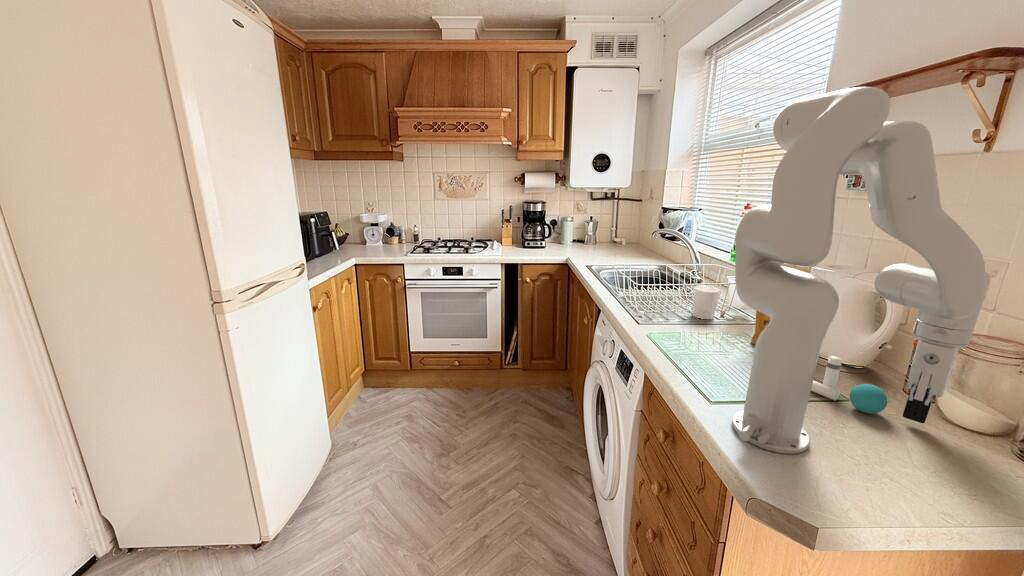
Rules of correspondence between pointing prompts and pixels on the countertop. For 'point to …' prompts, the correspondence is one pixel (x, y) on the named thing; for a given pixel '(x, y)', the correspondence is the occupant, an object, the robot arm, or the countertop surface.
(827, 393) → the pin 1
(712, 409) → the countertop surface
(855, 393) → the teal egg
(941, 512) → the countertop surface
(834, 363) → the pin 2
